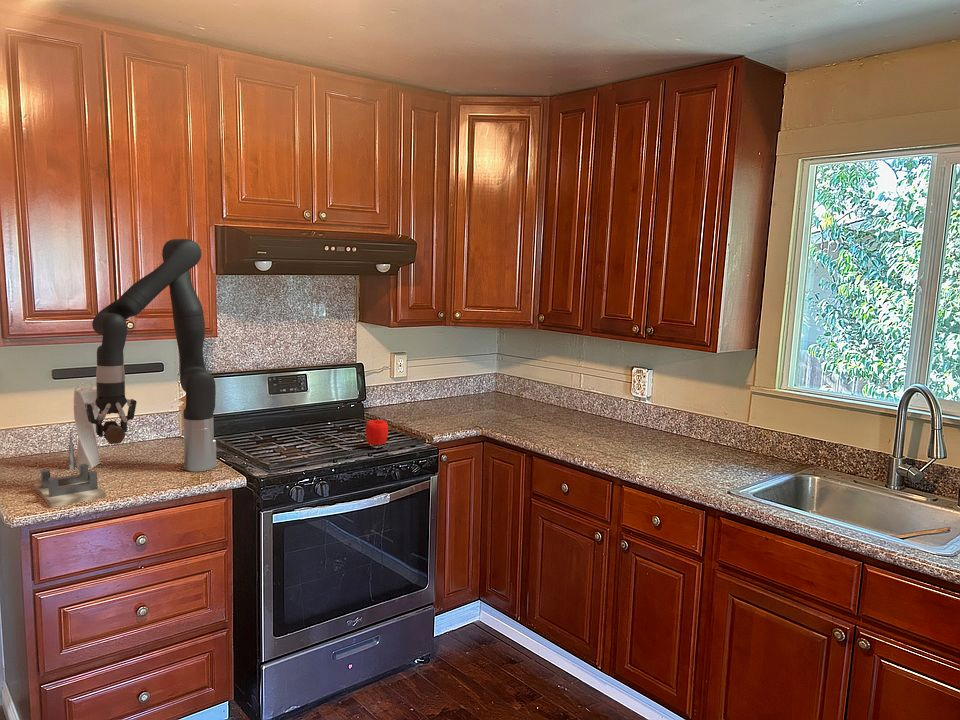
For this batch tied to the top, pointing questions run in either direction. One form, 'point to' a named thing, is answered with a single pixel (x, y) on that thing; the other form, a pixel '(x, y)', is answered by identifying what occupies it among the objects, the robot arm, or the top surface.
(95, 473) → the grey notched cradle
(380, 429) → the apple
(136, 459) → the top surface
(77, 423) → the skyscraper
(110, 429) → the bolt
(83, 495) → the collar board
